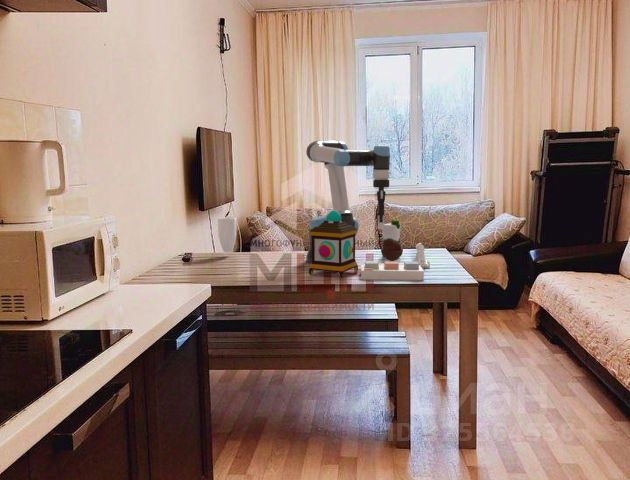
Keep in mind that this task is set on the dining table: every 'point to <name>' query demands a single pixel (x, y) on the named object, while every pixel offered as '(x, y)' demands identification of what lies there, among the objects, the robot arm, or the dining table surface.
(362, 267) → the console
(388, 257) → the ice cream bowl
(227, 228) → the cup
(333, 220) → the decorative lantern
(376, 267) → the sage key
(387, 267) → the terracotta key
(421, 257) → the sitting furry creature
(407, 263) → the slate key
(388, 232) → the milk carton
